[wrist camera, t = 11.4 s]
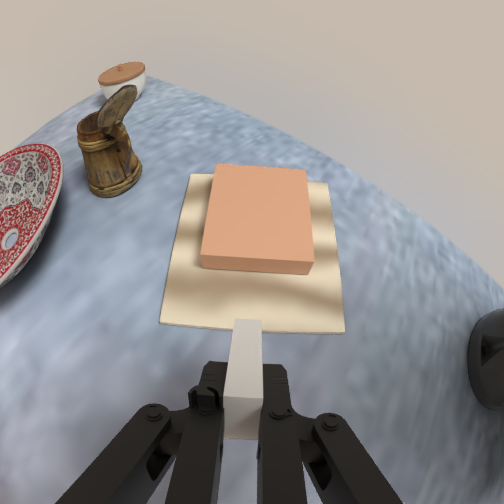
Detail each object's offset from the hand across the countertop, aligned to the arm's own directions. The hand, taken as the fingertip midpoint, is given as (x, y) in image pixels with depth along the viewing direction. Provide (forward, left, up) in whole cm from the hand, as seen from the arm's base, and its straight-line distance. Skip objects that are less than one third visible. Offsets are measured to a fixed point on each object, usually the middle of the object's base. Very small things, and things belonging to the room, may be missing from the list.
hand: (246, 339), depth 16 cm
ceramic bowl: (+27, -31, -14) cm, 43 cm away
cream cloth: (-8, -13, -13) cm, 20 cm away
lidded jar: (0, -61, -14) cm, 62 cm away
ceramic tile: (-6, -9, -11) cm, 15 cm away
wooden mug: (+5, -32, -14) cm, 35 cm away
